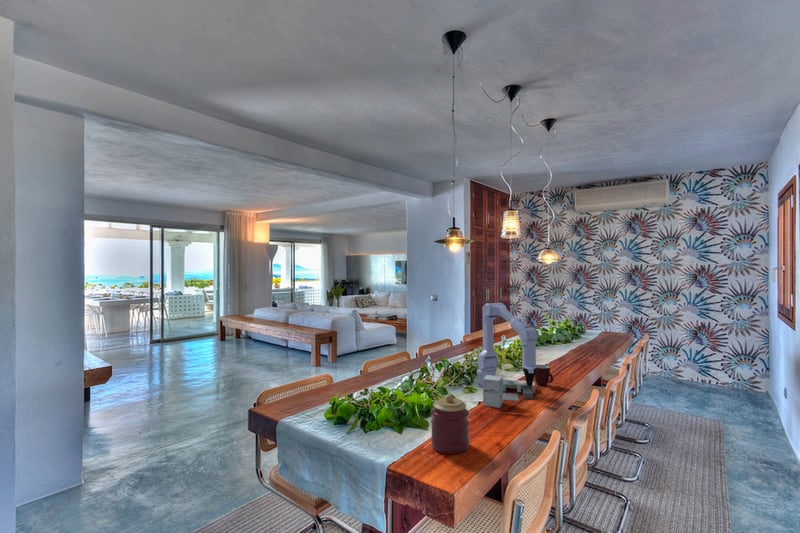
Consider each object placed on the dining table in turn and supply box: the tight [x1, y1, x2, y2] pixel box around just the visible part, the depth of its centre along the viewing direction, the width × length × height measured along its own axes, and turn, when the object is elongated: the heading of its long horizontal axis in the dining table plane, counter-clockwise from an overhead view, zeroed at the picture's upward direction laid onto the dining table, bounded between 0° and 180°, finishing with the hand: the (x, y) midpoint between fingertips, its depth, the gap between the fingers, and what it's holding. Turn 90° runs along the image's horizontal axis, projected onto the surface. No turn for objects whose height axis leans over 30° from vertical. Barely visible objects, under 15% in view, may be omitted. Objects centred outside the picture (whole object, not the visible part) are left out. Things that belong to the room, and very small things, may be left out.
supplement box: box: [482, 375, 504, 409], centre depth 171 cm, size 7×7×13 cm
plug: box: [522, 388, 534, 400], centre depth 181 cm, size 4×8×4 cm, turn 167°
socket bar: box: [503, 379, 536, 394], centre depth 190 cm, size 15×7×5 cm, turn 77°
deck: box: [503, 392, 520, 402], centre depth 181 cm, size 8×10×1 cm
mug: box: [534, 364, 554, 387], centre depth 198 cm, size 10×8×10 cm
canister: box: [430, 393, 470, 455], centre depth 132 cm, size 13×13×18 cm
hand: (529, 385), depth 173 cm, fingers closed
